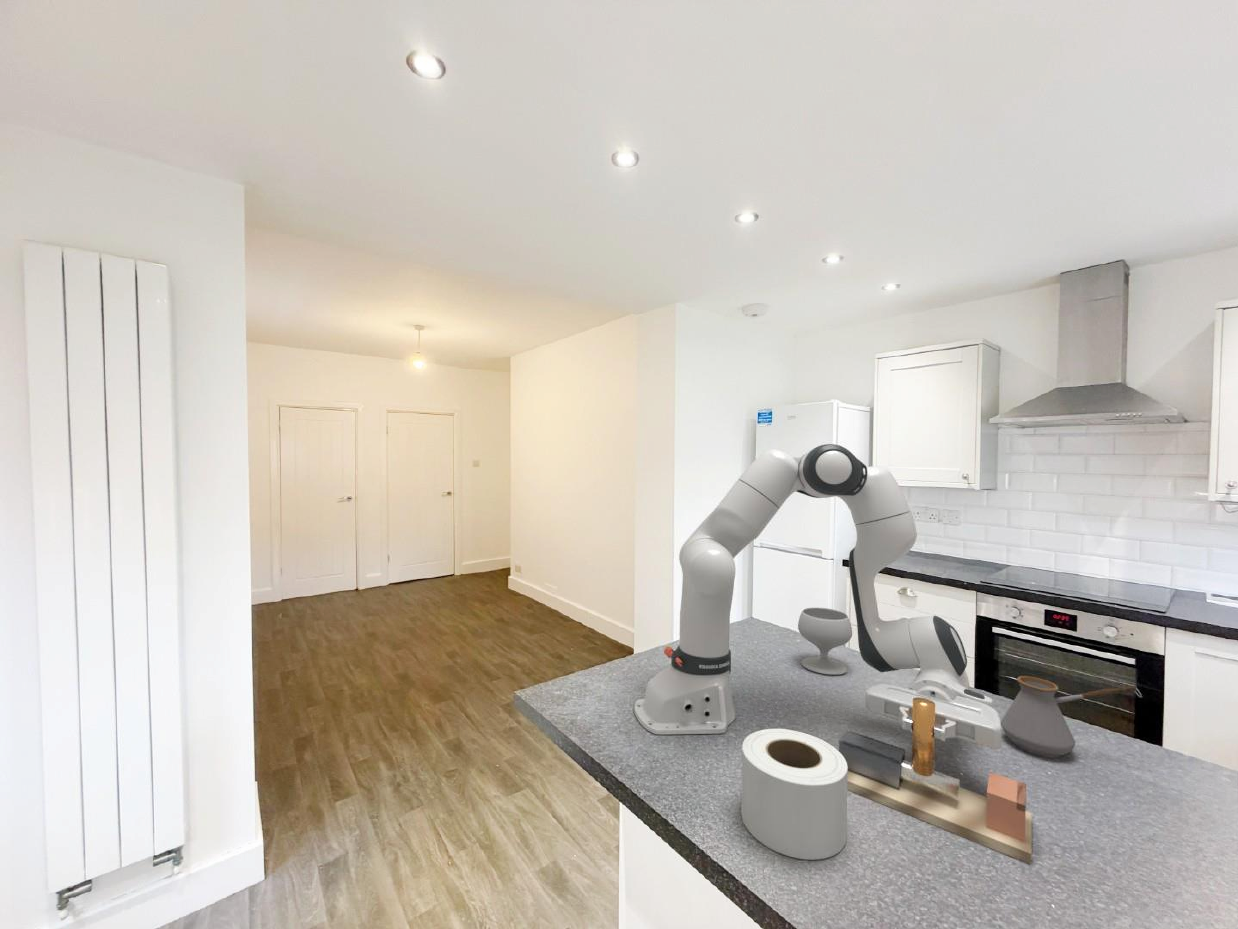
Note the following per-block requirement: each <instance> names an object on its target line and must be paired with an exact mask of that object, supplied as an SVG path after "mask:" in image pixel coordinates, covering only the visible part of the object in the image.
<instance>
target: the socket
mask: <svg viewBox="0 0 1238 929" xmlns="http://www.w3.org/2000/svg"><path fill="white" fill-rule="evenodd" d="M987 782H988V783H987V788H986V797H987V815H986V827H987V828H989V829H992V830H994V831H997V832H999V833H1002V834H1005V835H1007V836H1010V837H1012V838H1015V839H1017V840H1020V841H1023V842H1025V820H1026V811H1027V810H1026V809H1027V808H1026V806H1027V804H1026V803H1027V783H1025V782H1021V781H1019V780H1015V779H1013V778H1009V777H1006V776H1003V775H1000V774H997V773H994V772H992V771H989V775H988V781H987Z"/></svg>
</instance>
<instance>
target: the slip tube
mask: <svg viewBox="0 0 1238 929" xmlns="http://www.w3.org/2000/svg"><path fill="white" fill-rule="evenodd" d="M934 727H935V703H934V702H933V701H931V700H928V699H925V698H920V697H916V698H913V716H912V731H911V733H912V734H911V762H910V761H907V760H906V759H905V760H901V762H900V779H902V780H905V781H907V782H910V783H913V784H915V785H918V786H921V787H924V788H926V789H929V790H932V791H934V792H937V793H940V794H942V795H945V796H948V797H951V798H953V799H956V800H959V794H960V788H961V780H960V779H959V778H957V777H953V776H951V775H948V774H945V773H942V772H939V771H936V770H935V749H936V748H935V747H936V746H935V745H936V744H935V743H936V742H935V740H936V739H935V738H934Z"/></svg>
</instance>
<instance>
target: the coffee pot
mask: <svg viewBox="0 0 1238 929" xmlns="http://www.w3.org/2000/svg"><path fill="white" fill-rule="evenodd" d="M1016 681H1017V683H1019V687H1020V690H1019V691H1018V694H1017V695H1016V697H1014V699H1013V701H1012V703H1011V705H1010V706H1009V708H1008V709H1007V711H1006V713H1005V714H1004V716H1003V717H1002V719H1001V720H1000V721H1001V729H1002V730H1003V732H1004V734H1006V736H1007V737H1008V738H1009V739H1010V740H1011V742H1013V744H1015V745H1016V747H1018V748H1020V749H1022V750H1024V751H1027V752H1028V753H1031V754H1034V755H1036V756H1040V757H1041V756H1042V757H1044V758H1045V757H1046V758H1060V757H1062V756H1063V755H1066V754H1068V753H1070V752H1071V751H1072V750H1074V748H1075V746H1076V741H1075V738H1074V736H1073V734H1072V731H1071V730H1070V728H1069V726H1068V723H1067V722H1066V720H1065V717H1064V715H1063V713H1062V711H1061V709H1060V707H1059V705H1058V704H1061V703H1067V702H1071V701H1077V700H1083V699H1093V698H1102V697H1103V698H1104V697H1110V696H1113V695H1116V694H1120V693H1121V694H1125V693H1126V692H1134V693H1135V694H1136V696H1138V697H1139V698H1143V695H1142V693H1141V692H1140V690H1139V689H1138V688H1137V686H1136V685H1127V686H1125V687H1123V686H1118V687H1117V688H1116V687H1115V688H1103V689H1098V690H1093V691H1090V692H1085V693H1081V694H1073V695H1067V696H1060V697H1059V696H1058V697H1055V694H1056V692H1058V691H1059V686H1058V685H1057V684H1055V683H1054V682H1052V681H1050V680H1046V679H1042V678H1039V677H1034V676H1027V675H1023V676H1022V675H1021V676H1018V677H1017V678H1016Z"/></svg>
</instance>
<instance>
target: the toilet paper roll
mask: <svg viewBox="0 0 1238 929" xmlns="http://www.w3.org/2000/svg"><path fill="white" fill-rule="evenodd" d="M847 779H848V766H847V762H846V760H845V758H844V757H843V755H842V754H841V753H840V752H839V749H837V748H836V747H835V746H833V745H831V744H830V743H828V742H827V741H825V740H823V739H821V738H819V737H816V736H814V735H811V734H808V733H806V732H802V731H798V730H793V729H787V728H766V729H762V730H761V729H760V730H757V731H754V732H752V733H750V734H749V735H747V736H746V737H745V738H744V740H743V742H742V746H741V793H740V794H741V796H740V797H741V799H740V800H741V801H740V802H741V806H740V807H741V808H740V809H741V810H740V812H741V813H740V814H741V819H742V822H743V824H744V826H745V828H746V829H747V830H748V832H749V833H750V834H751V836H753V837H754V838H755V839H756V840H757V841H759V842H760V843H761V844H762V845H764V846H766V847H767V848H769V849H771V850H773V851H775V852H777V853H779V854H781V855H784V856H787V857H791V858H794V859H800V860H812V861H813V860H824V859H827V858H832V857H833V856H835V855H837V854H838V853H841V851H842V850H843V849H844V847H845V845H846V842H847V839H848V838H847V834H848V833H847V832H848V830H847V828H848V827H847V826H848V825H847V824H848V822H847V821H848V818H847V817H848V790H847Z"/></svg>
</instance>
